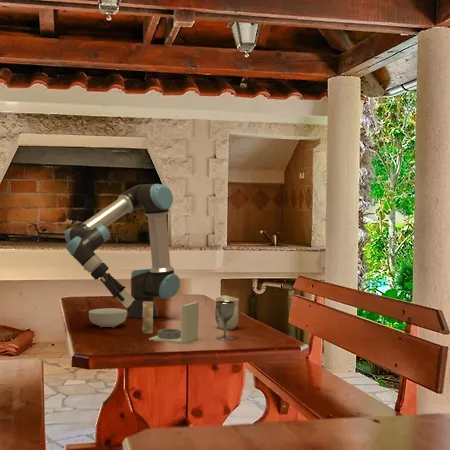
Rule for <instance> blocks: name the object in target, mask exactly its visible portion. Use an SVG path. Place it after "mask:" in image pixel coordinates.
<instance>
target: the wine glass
mask: <svg viewBox="0 0 450 450" xmlns="http://www.w3.org/2000/svg"><path fill="white" fill-rule="evenodd" d="M215 309H216V312H217V316H218V317H219V318H220V320H221V321H222V322H223V325H224V329H223V335H222V336H217V337H215V339H216V340H221V341H232V340H234V337H231V336H228V335H227V330H226V326H227V323H228V321H229V320H230V319H231V318H232V317H233V315H234V311H235V302H233V301H216V300H215Z"/></svg>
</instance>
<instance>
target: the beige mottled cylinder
mask: <svg viewBox="0 0 450 450" xmlns="http://www.w3.org/2000/svg"><path fill="white" fill-rule="evenodd" d="M141 331H142V334H153V333H154V318H153V302H150V301H146V302H143V318H142V330H141Z"/></svg>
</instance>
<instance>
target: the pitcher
mask: <svg viewBox="0 0 450 450" xmlns="http://www.w3.org/2000/svg"><path fill="white" fill-rule="evenodd" d="M216 301H233V302H235V311H234V315H233V317H232V318H231V319H230V320H229V321H228V323H227V326H226V331H227V330H234V329H235V328H236V327H237V326H238V322H239V319H240V307H239V301H240V299H239V297H238V298H237V297H234V296H229V295H227V294H226V295H225V294H223V295H221V296H218V297H216V298H215V302H216ZM214 319H215V322H216V325H217V327H218V328H219V329H220V330H224V325H223V322H222V321H221V320H220V318H219V317H218V316H217V312H216V308H214Z"/></svg>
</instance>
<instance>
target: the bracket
mask: <svg viewBox="0 0 450 450" xmlns="http://www.w3.org/2000/svg"><path fill="white" fill-rule="evenodd" d="M199 304H200V303H199V302H198V301H194V302H190V303H187V304H183V305H181V329H178V328H161V329H158V330H157V335H155V336H151V337H149V338H148V341H151V340H153V341H154V342H160V343H161V342H162V343H163V342H164V343H173V344H180V345H181V344H182V345H186V344H188V343H191V342H194V341H196V340H199ZM153 341H152V342H153Z"/></svg>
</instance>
